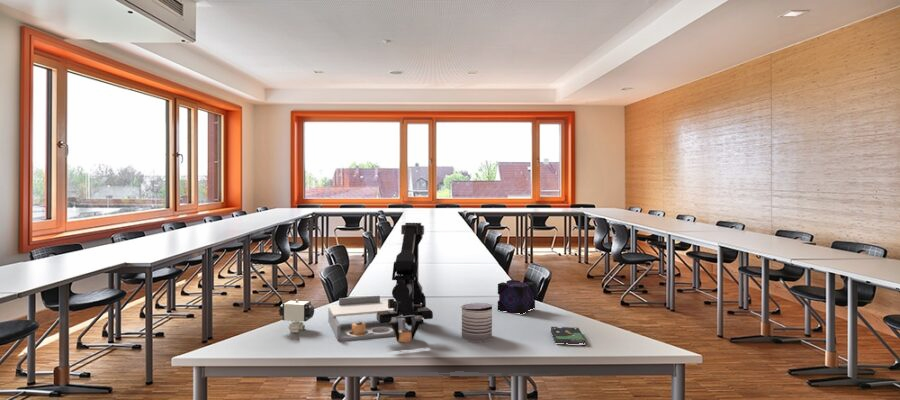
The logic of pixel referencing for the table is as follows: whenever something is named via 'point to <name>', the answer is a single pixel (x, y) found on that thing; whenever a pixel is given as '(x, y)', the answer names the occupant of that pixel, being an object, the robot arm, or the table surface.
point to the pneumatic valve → (296, 313)
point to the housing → (371, 329)
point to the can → (477, 322)
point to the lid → (359, 306)
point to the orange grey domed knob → (359, 328)
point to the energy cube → (516, 296)
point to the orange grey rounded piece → (405, 335)
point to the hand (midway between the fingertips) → (404, 339)
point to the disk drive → (567, 335)
